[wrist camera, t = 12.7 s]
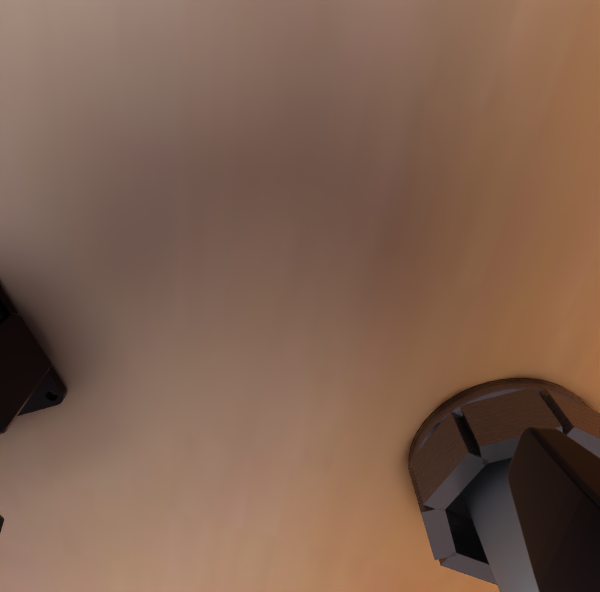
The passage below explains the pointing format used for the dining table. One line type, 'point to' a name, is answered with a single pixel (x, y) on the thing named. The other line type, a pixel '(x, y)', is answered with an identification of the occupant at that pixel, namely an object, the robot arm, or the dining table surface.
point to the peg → (500, 528)
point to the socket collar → (483, 455)
